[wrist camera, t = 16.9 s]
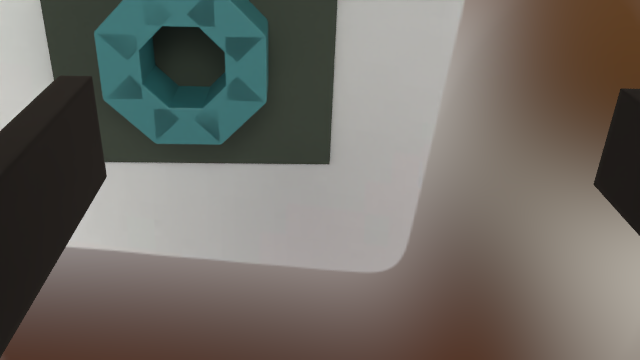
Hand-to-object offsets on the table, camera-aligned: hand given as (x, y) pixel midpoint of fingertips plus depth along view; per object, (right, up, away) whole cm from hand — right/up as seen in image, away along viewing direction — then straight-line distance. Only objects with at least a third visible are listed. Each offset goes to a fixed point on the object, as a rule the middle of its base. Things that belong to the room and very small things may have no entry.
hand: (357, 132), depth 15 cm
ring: (-9, +7, +23) cm, 26 cm away
